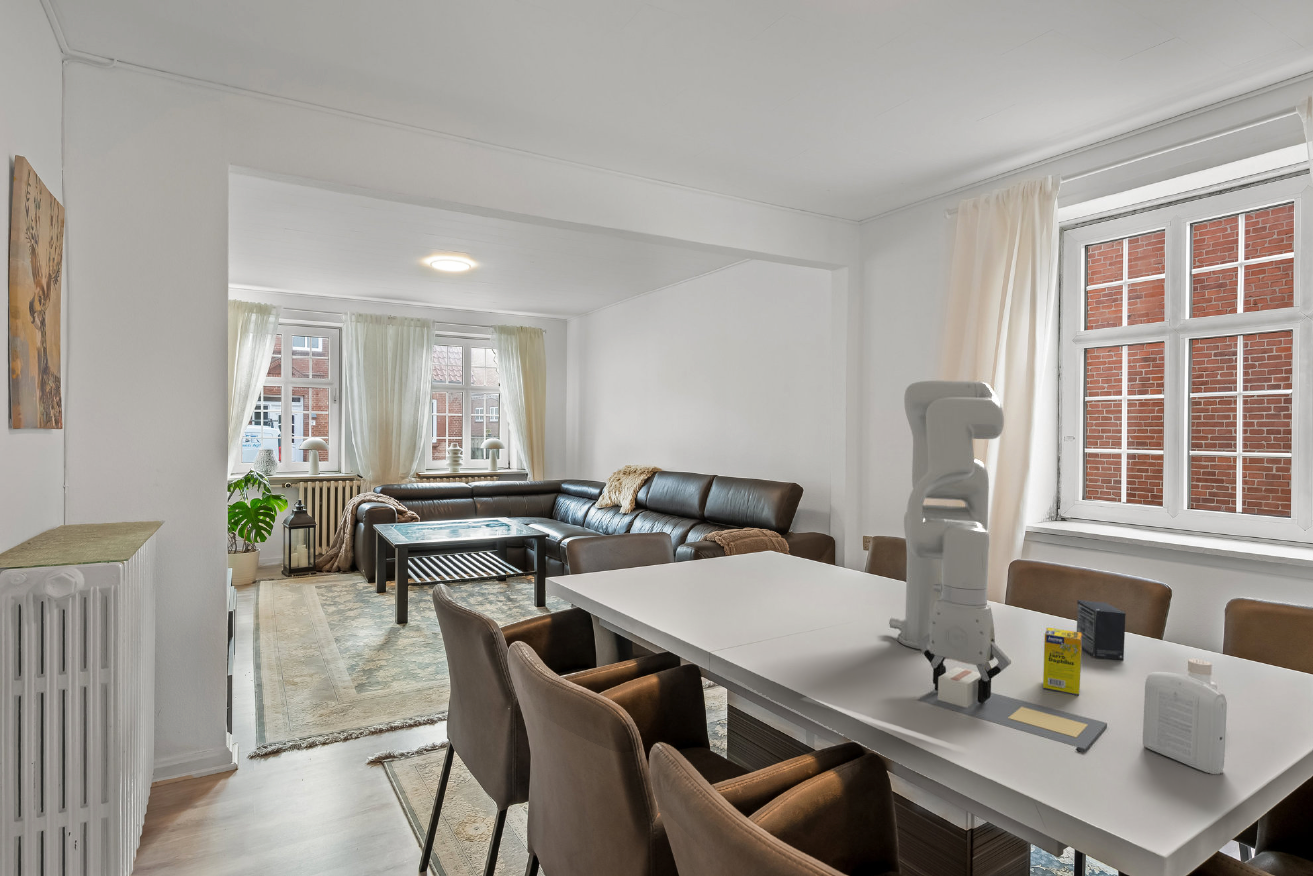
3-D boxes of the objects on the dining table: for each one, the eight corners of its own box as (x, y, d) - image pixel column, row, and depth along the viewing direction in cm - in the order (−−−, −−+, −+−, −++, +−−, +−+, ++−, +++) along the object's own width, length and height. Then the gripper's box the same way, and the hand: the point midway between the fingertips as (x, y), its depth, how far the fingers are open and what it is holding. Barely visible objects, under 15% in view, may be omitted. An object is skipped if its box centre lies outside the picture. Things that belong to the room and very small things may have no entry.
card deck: (937, 699, 124) (938, 676, 124) (955, 688, 130) (956, 666, 130) (966, 707, 121) (967, 684, 121) (983, 696, 126) (984, 673, 126)
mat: (916, 703, 124) (916, 699, 124) (948, 684, 134) (948, 680, 134) (1085, 753, 106) (1085, 748, 106) (1107, 726, 116) (1107, 722, 116)
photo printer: (1230, 772, 101) (1233, 686, 101) (1212, 777, 99) (1215, 690, 99) (1154, 742, 110) (1157, 664, 110) (1137, 747, 108) (1139, 667, 108)
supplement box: (1079, 699, 128) (1081, 639, 128) (1042, 692, 131) (1044, 633, 131) (1080, 689, 133) (1082, 632, 133) (1044, 683, 136) (1046, 626, 136)
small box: (1126, 661, 151) (1128, 612, 151) (1093, 658, 152) (1094, 610, 152) (1105, 646, 162) (1107, 601, 161) (1074, 644, 163) (1075, 599, 163)
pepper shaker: (1203, 723, 118) (1205, 666, 118) (1178, 714, 122) (1180, 659, 122) (1218, 719, 120) (1219, 664, 120) (1192, 711, 123) (1194, 657, 123)
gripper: (907, 589, 128) (904, 687, 129) (1008, 608, 116) (1005, 715, 117) (924, 584, 134) (922, 677, 134) (1023, 601, 122) (1020, 703, 122)
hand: (961, 694), depth 125 cm, fingers open, 6 cm apart
